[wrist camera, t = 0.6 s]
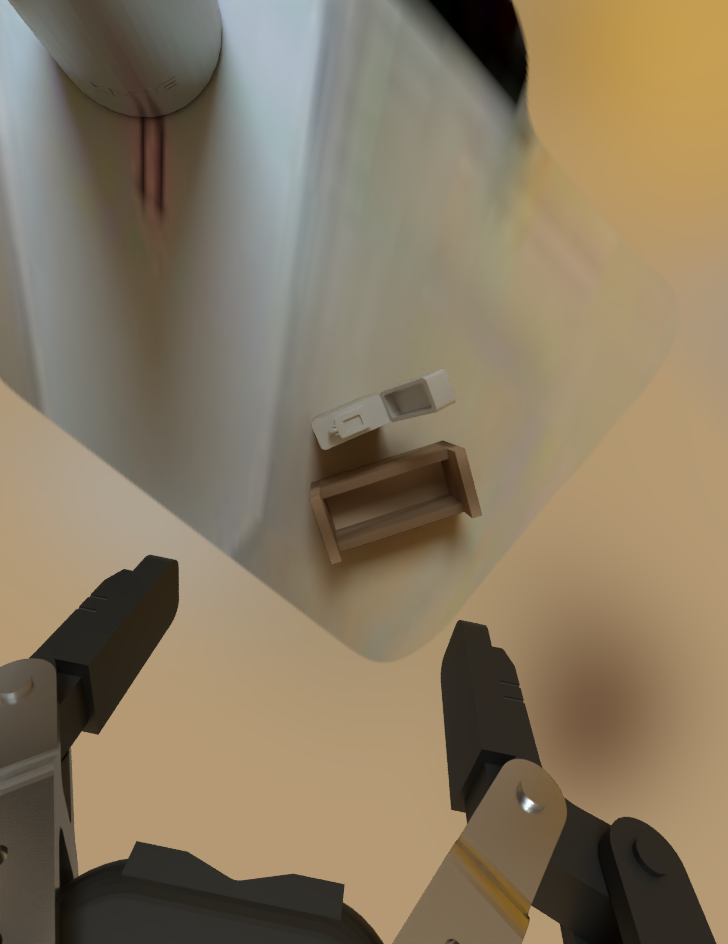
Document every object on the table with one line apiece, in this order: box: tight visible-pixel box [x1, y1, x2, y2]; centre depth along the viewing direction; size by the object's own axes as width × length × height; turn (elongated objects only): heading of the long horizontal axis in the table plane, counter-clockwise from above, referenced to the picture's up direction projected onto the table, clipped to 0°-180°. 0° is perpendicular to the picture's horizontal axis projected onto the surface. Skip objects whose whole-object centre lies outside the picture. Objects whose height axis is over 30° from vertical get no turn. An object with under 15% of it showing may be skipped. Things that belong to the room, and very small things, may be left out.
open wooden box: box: [309, 441, 482, 564], centre depth 27 cm, size 4×9×4 cm, turn 107°
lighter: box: [311, 369, 456, 450], centre depth 24 cm, size 7×2×8 cm, turn 113°
